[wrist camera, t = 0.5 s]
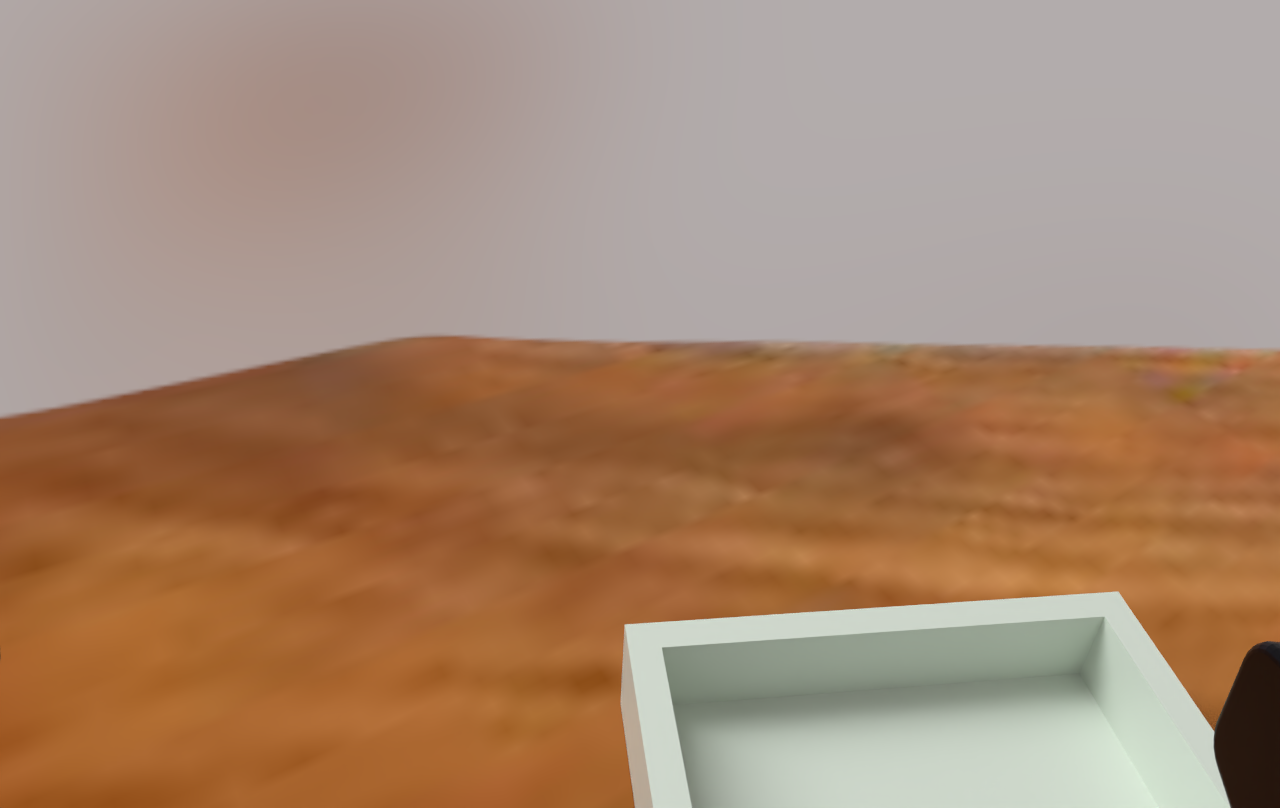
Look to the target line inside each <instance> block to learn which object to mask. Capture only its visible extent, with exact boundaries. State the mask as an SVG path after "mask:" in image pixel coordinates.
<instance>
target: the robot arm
mask: <svg viewBox="0 0 1280 808" xmlns="http://www.w3.org/2000/svg"><path fill="white" fill-rule="evenodd" d="M1214 754H1215V760H1216V764H1217V767H1218V770H1219V773H1220V777H1221V780H1222V783H1223V786H1224V789H1225V792H1226V795H1227V798H1228V801H1229V804H1230V807H1231V808H1280V642H1271V641H1267V642H1262V643H1259V644H1256V645H1255V646H1253V647H1252V648H1251V649H1250V650H1249V651H1248V652H1247V654H1246V656H1245V658H1244V660H1243V662H1242V664H1241V667H1240V669H1239V672H1238V674H1237V676H1236V679H1235V681H1234V683H1233V686H1232V688H1231V690H1230V693H1229V695H1228V697H1227V700H1226V702H1225V704H1224V707H1223V709H1222V711H1221V714H1220V716H1219V718H1218V721H1217V723H1216V727H1215V732H1214Z"/></svg>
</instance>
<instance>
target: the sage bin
mask: <svg viewBox="0 0 1280 808" xmlns="http://www.w3.org/2000/svg"><path fill="white" fill-rule="evenodd" d="M621 710H622V717H623V724H624V732H625V739H626V746H627V753H628V760H629V767H630V775H631V782H632V789H633V796H634V803H635V808H1231V807H1230V804H1229V801H1228V798H1227V795H1226V792H1225V789H1224V786H1223V783H1222V780H1221V777H1220V773H1219V770H1218V767H1217V764H1216V760H1215V754H1214V731H1213V729H1212V728H1211V726H1210V725H1209V723H1208V722H1207V721H1206V719H1205V718H1204V716H1203V715H1202V713H1201V712H1200V710H1199V709H1198V707H1197V706H1196V705H1195V703H1194V702H1193V700H1192V699H1191V697H1190V696H1189V694H1188V693H1187V691H1186V690H1185V688H1184V687H1183V686H1182V684H1181V683H1180V681H1179V680H1178V678H1177V677H1176V675H1175V674H1174V672H1173V671H1172V669H1171V668H1170V667H1169V665H1168V664H1167V662H1166V661H1165V659H1164V658H1163V656H1162V655H1161V653H1160V652H1159V651H1158V649H1157V648H1156V646H1155V645H1154V643H1153V642H1152V640H1151V639H1150V637H1149V636H1148V634H1147V633H1146V632H1145V630H1144V629H1143V627H1142V626H1141V624H1140V623H1139V621H1138V620H1137V618H1136V617H1135V615H1134V614H1133V613H1132V611H1131V610H1130V608H1129V607H1128V605H1127V604H1126V602H1125V601H1124V599H1123V598H1122V597H1121V595H1120V594H1119V592H1106V593H1091V594H1076V595H1061V596H1046V597H1031V598H1016V599H1001V600H986V601H971V602H956V603H941V604H926V605H911V606H896V607H881V608H866V609H851V610H836V611H821V612H806V613H791V614H776V615H761V616H746V617H732V618H717V619H702V620H687V621H672V622H657V623H642V624H627V625H625V630H624V648H623V667H622V686H621Z"/></svg>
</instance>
